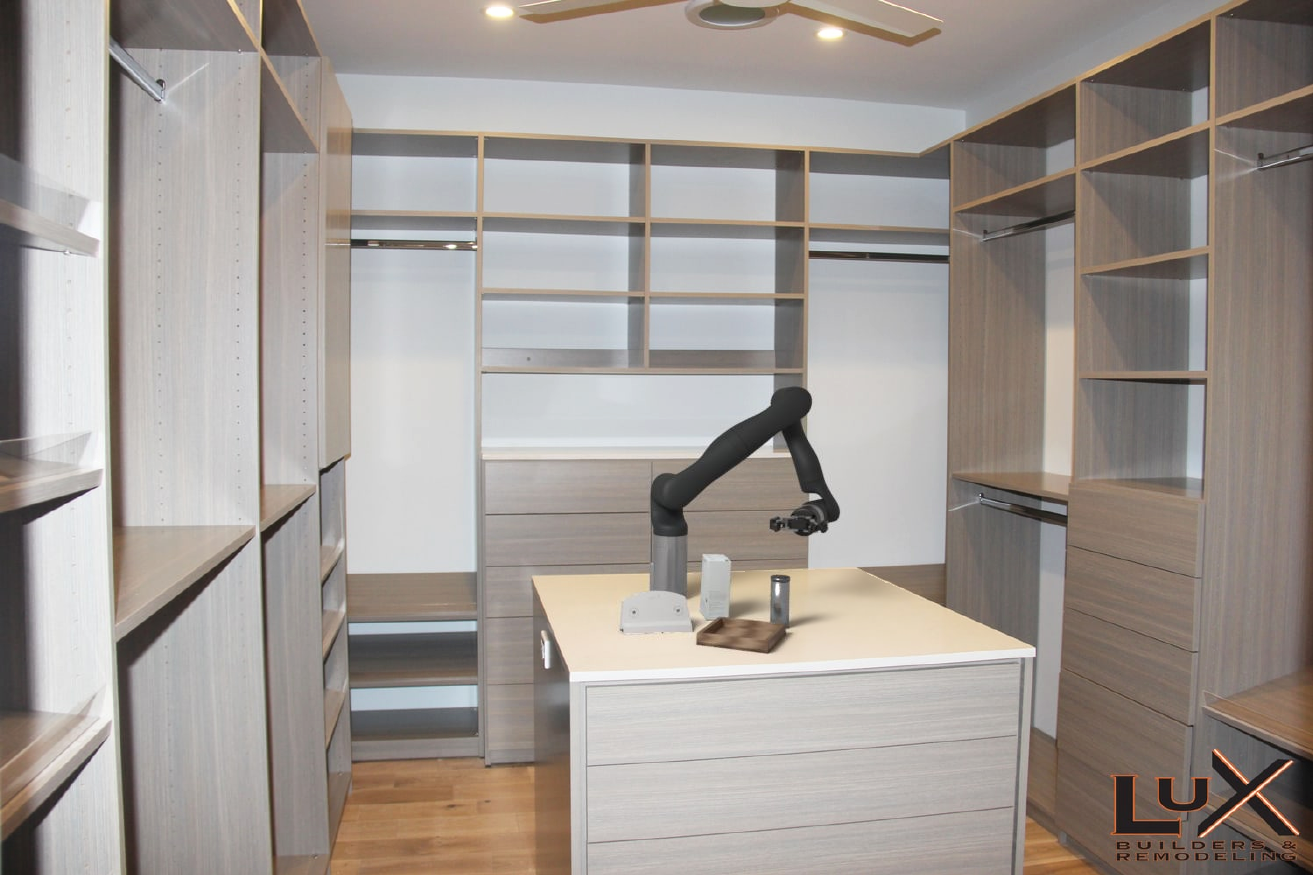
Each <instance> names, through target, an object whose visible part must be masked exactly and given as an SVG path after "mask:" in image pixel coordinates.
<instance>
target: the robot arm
mask: <svg viewBox="0 0 1313 875" xmlns="http://www.w3.org/2000/svg"><path fill="white" fill-rule="evenodd" d="M812 406H813V397H812V395H811V393H810V391H809V390H808V389H806V388H805V387H802V386H795V385H794V386H788V387H786V386H785V387H781V388H779V389H777V390H776V391H774V393H772V396H771V398H770V405H769V406H767V408H765V409H764V410H762V411H760V412H759V413H757V414H755V415H753V416H750V417H748V418H746V419H743V420H742V421H740V422H737V424H734V425H732V426H731V427H730V428H728V429H726V430H725V431H724V432H722V433H721V434H720V435H719V436H717V437H716V438H715V439H714V440H713V441H712V442H711V443H710V444H709V445H708V446H707V448H706V449H705V451H704V452H703V453H702V455H701V456H700V457H699V458H698V459H697V460H696V461H695V462H693V464H690V465H689V466H688V467H686V468H685V469H683V470H681V471H679V472H677V473H672V472H665V473H663V472H662V473H660V474H659V475H657V476H656V477H655V478H654V480H653V481H652V484H651V487H650V493H649V496H650V498H649V499H650V504H649V505H650V521H651V525H652V561H651V562H650V563H649V591H667V592H673V593H676V594H680V595H683V596H685V597H686V600H687V598H688V555H689V554H688V550H689V548H688V544H689V540H688V538H689V536H688V535H689V527H688V523H687V521H686V519H685V516H684V508H685V507H688V505H690V504H691V502H693V501H694V500H695V499H696V498H697V497H698V496H699V495H700V494H702V492H703V491H704V490H705V489H707V488H708V487H709V486H710V485H711V484H713V483H714V482H715V481H717V480H718V479H720V478H722V477H723V476H725V475H726V474H727V473H728V472H730V471H731V470H733V468H735V467H737V466H738V465H739V464H741V463H742V462H744V461H745V460H747V459H748V458H749V457H750V456H752V455H753V454H754V453H755V452H757V451H758V450H759V449H760V448H762V447H763V446H764V445H765V444H767V443H768V442H769V441H770V440H771V439H773V437H774V436H776V435H777V434H779V433H781V434H782V436H783V438H784V441H785V443H786V446H787V449H788V451H789V454H790V457H791V460H792V464H793V466H794V469H795V472H796V476H797V480H798V482H799V483H798V484H799V487H800V490H801V492H802V493H803V494H816V495H818V496H819V497H820V498H819V499H813V500H808V501H806V502H804V503H803V504H802V505H801V506H800V507H798V508H796V509H795V510H794V511H793V512H792V513H791V514H790V516H785V517H784V516H783V517H782V519H781V517H780V516H775V517H772V518H770V519H769V530H771V531H773V532H774V533H778V532H780V531H784V532H793V533H794V534H796V535H797V536H799V537H810V536H811V535H813V534H817V533H819V531H820V533H821V534H825V533H827V532H828V530H829V524H830V523H835V522H838V520H839V519H840V515H841V508H840V505H839V504H838V502H837V500H836V498H835V497H834V495H833V494H832V492H831V490H830V488H829V486H828V484H827V482H826V480H825V477H824V473H823V469H822V466H821V465H822V464H821V462H820V460H819V457H818V455H817V453H816V452H815V450H814V448H813V446H812V444H811V443H810V441H809V440H808V437H807V435H806V432H805V431H804V427H803V425H802V420H801V419H803V418H805V417H806V416H807V415H808V414H809V412H810V411H811V409H812ZM781 525H782V526H781Z"/></svg>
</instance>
